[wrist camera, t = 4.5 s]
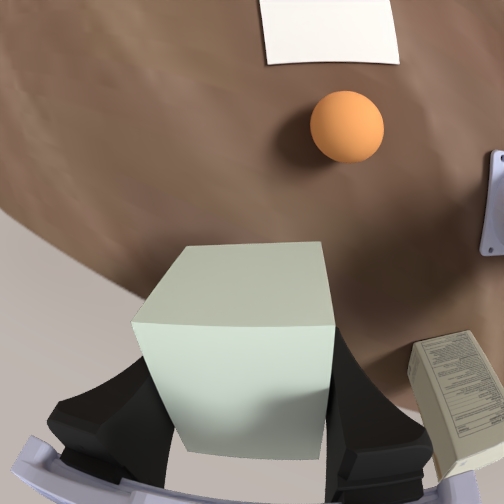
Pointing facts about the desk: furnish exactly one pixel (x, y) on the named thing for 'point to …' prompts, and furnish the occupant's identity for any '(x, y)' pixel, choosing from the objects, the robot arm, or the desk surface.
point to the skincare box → (458, 402)
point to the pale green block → (243, 348)
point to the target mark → (329, 31)
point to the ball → (346, 127)
